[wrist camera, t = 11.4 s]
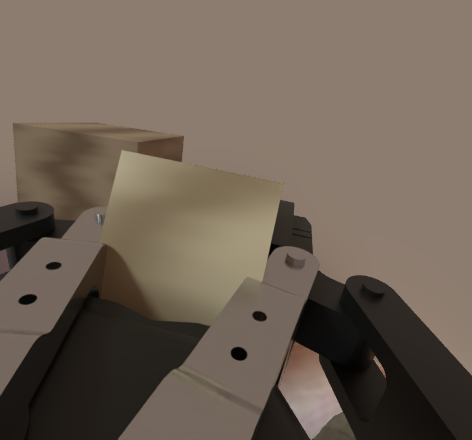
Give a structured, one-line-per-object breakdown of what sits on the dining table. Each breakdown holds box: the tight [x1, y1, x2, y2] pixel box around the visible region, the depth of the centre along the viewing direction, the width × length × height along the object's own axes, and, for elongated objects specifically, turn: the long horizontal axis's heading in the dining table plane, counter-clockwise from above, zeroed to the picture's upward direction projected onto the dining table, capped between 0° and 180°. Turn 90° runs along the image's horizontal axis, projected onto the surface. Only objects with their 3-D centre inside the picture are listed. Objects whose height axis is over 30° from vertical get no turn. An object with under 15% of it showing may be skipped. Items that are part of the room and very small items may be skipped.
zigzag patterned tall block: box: [13, 123, 184, 220], centre depth 35 cm, size 10×12×32 cm
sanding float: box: [99, 150, 284, 326], centre depth 17 cm, size 7×21×4 cm, turn 171°
